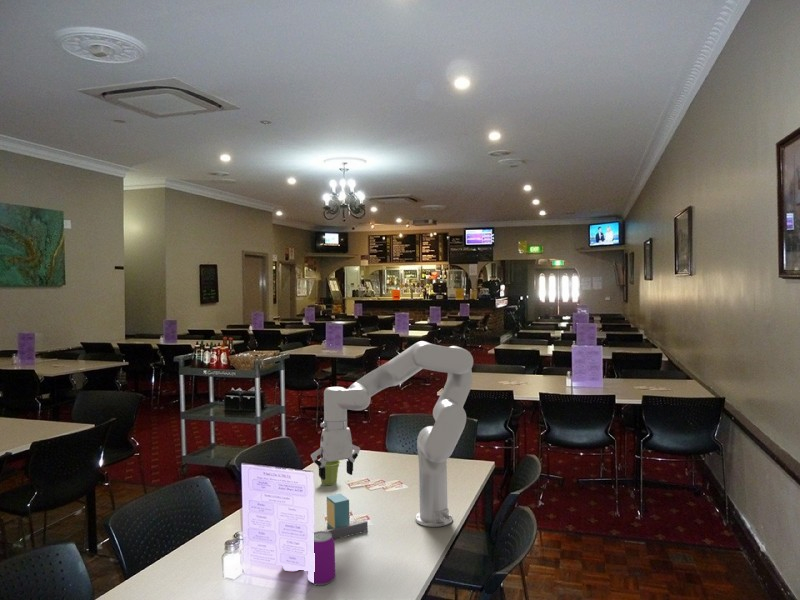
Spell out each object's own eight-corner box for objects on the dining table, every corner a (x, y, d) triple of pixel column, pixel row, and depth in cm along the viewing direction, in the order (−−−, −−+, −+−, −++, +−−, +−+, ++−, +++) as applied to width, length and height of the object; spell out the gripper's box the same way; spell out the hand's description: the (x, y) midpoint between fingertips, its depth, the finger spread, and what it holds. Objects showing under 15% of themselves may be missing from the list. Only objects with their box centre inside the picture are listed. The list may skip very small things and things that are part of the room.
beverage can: (301, 581, 156) (300, 537, 155) (320, 570, 162) (319, 527, 162) (322, 589, 151) (321, 544, 151) (341, 577, 158) (340, 533, 157)
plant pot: (312, 483, 236) (312, 462, 236) (331, 478, 242) (331, 457, 242) (325, 488, 229) (325, 467, 229) (345, 483, 235) (344, 462, 235)
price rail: (367, 530, 188) (367, 521, 188) (327, 541, 181) (327, 531, 181) (362, 527, 191) (362, 518, 191) (323, 537, 184) (323, 527, 184)
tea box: (340, 522, 195) (340, 493, 195) (349, 529, 189) (349, 499, 189) (326, 526, 192) (326, 496, 192) (335, 533, 186) (334, 502, 186)
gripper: (315, 430, 183) (316, 484, 183) (364, 423, 191) (364, 474, 191) (306, 425, 189) (307, 477, 189) (354, 419, 198) (354, 469, 198)
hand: (336, 476), depth 190 cm, fingers open, 9 cm apart
